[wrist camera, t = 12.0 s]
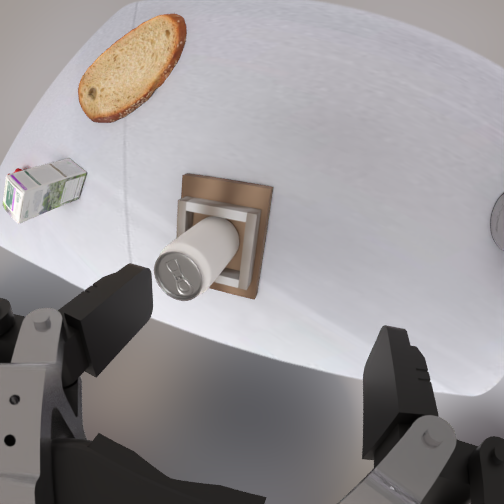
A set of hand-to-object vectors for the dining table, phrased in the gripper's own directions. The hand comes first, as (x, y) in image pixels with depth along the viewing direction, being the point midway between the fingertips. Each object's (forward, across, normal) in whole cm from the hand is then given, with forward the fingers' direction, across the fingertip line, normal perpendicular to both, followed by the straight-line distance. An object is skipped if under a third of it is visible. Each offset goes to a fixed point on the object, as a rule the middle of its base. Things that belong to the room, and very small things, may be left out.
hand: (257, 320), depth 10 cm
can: (+29, +11, +10) cm, 32 cm away
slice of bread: (+31, +29, -14) cm, 44 cm away
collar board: (+30, +11, +10) cm, 33 cm away
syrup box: (+30, +40, +5) cm, 50 cm away
